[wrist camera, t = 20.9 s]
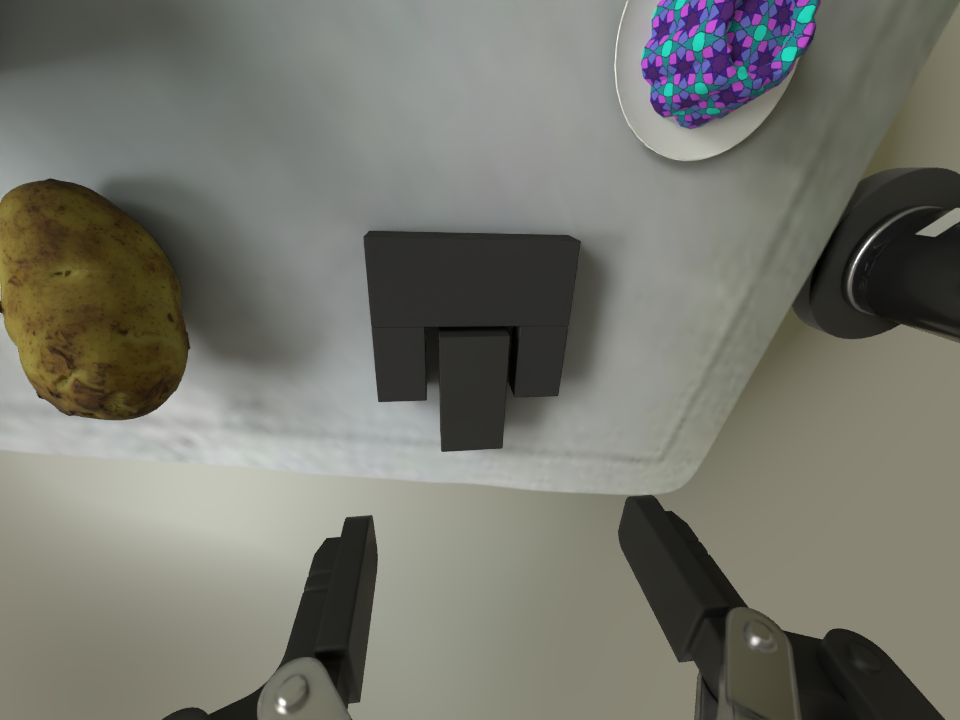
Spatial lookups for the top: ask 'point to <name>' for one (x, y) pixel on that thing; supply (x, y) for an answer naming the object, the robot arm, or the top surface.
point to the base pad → (469, 302)
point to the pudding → (706, 69)
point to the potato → (89, 302)
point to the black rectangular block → (472, 386)
